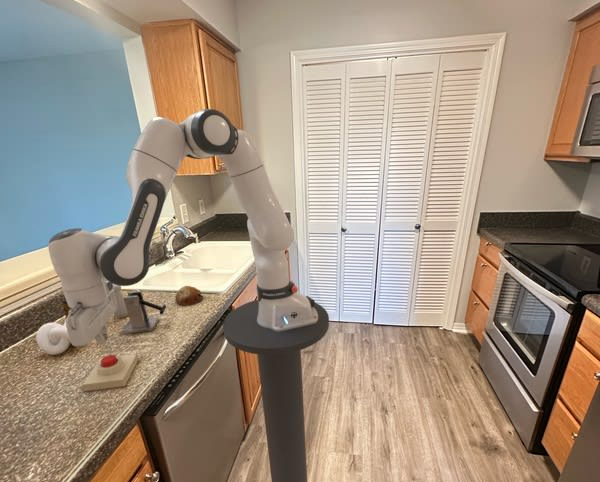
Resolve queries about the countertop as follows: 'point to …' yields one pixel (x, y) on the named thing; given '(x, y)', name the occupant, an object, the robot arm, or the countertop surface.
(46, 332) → the white knot
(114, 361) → the button
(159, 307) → the switch
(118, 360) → the button block
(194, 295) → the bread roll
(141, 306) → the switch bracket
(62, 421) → the countertop surface
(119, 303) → the salt shaker
